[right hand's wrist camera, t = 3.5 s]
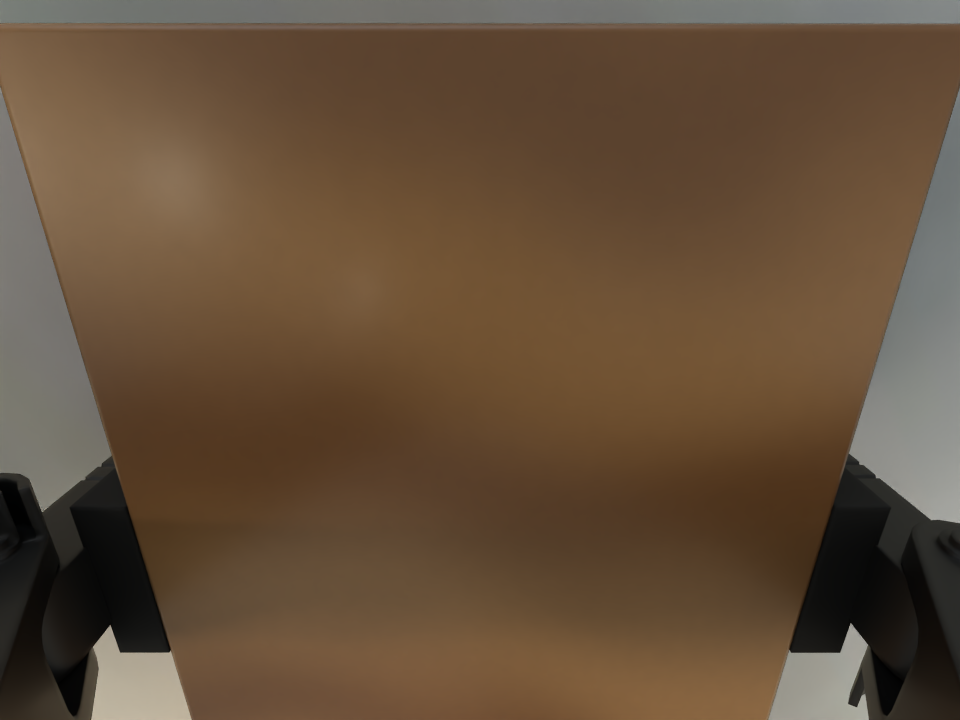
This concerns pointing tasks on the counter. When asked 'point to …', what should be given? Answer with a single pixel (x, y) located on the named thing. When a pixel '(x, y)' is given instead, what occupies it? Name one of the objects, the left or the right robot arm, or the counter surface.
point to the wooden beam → (479, 341)
